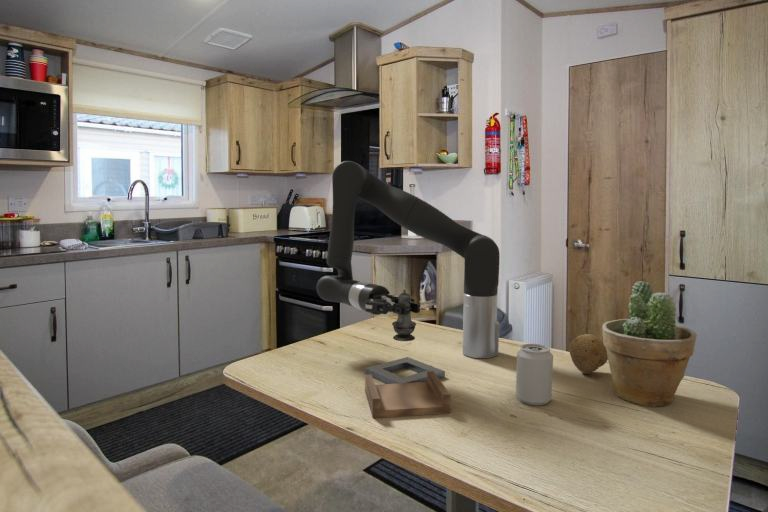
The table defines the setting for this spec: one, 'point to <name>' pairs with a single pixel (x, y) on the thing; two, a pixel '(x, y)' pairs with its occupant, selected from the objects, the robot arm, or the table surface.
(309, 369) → the table surface
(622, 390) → the potted plant
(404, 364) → the socket frame
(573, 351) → the natural sponge
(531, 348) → the can
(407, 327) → the salt shaker
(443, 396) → the brown piece
